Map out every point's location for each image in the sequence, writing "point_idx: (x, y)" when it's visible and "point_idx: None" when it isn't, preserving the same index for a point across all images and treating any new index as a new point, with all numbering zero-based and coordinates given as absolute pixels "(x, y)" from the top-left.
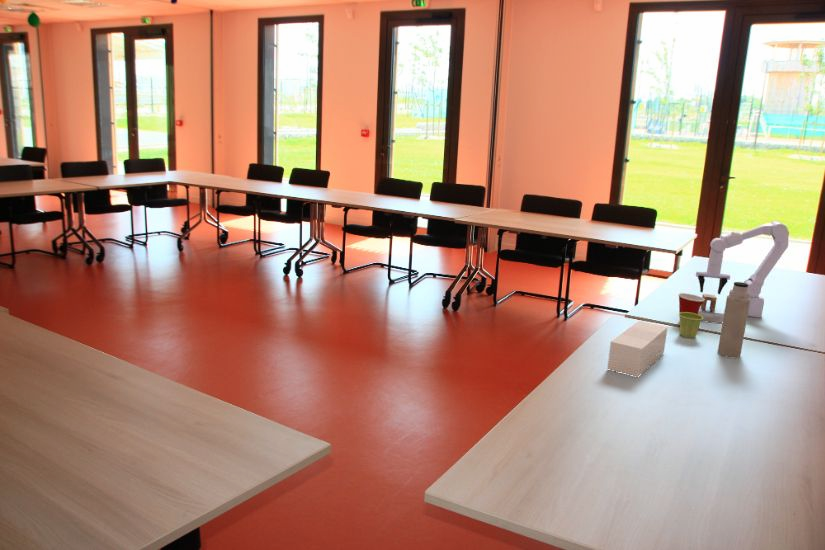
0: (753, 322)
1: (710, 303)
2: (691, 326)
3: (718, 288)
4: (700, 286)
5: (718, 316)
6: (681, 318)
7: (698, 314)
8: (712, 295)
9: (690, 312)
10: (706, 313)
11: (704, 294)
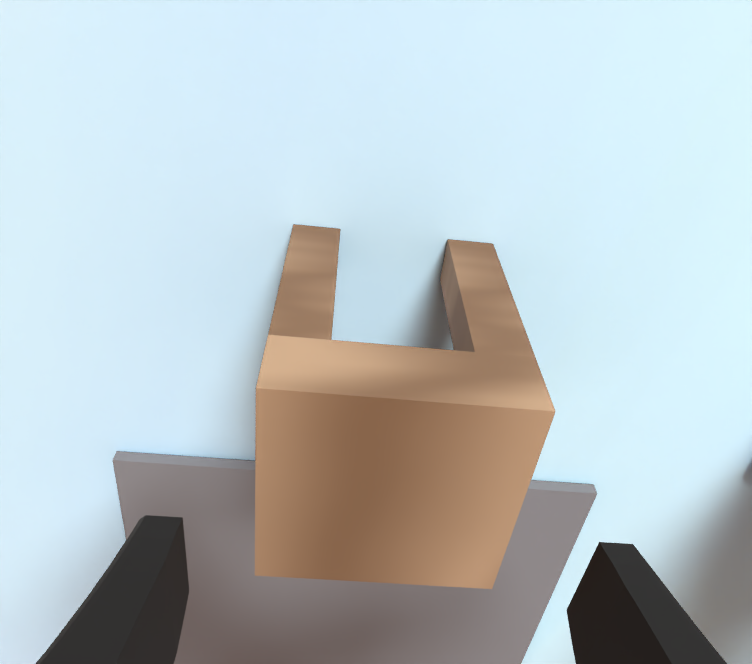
0: (732, 630)
1: (456, 295)
2: None
3: (660, 659)
4: (73, 650)
5: (408, 591)
6: None
7: None
8: (476, 459)
9: None
10: None
11: (289, 432)
